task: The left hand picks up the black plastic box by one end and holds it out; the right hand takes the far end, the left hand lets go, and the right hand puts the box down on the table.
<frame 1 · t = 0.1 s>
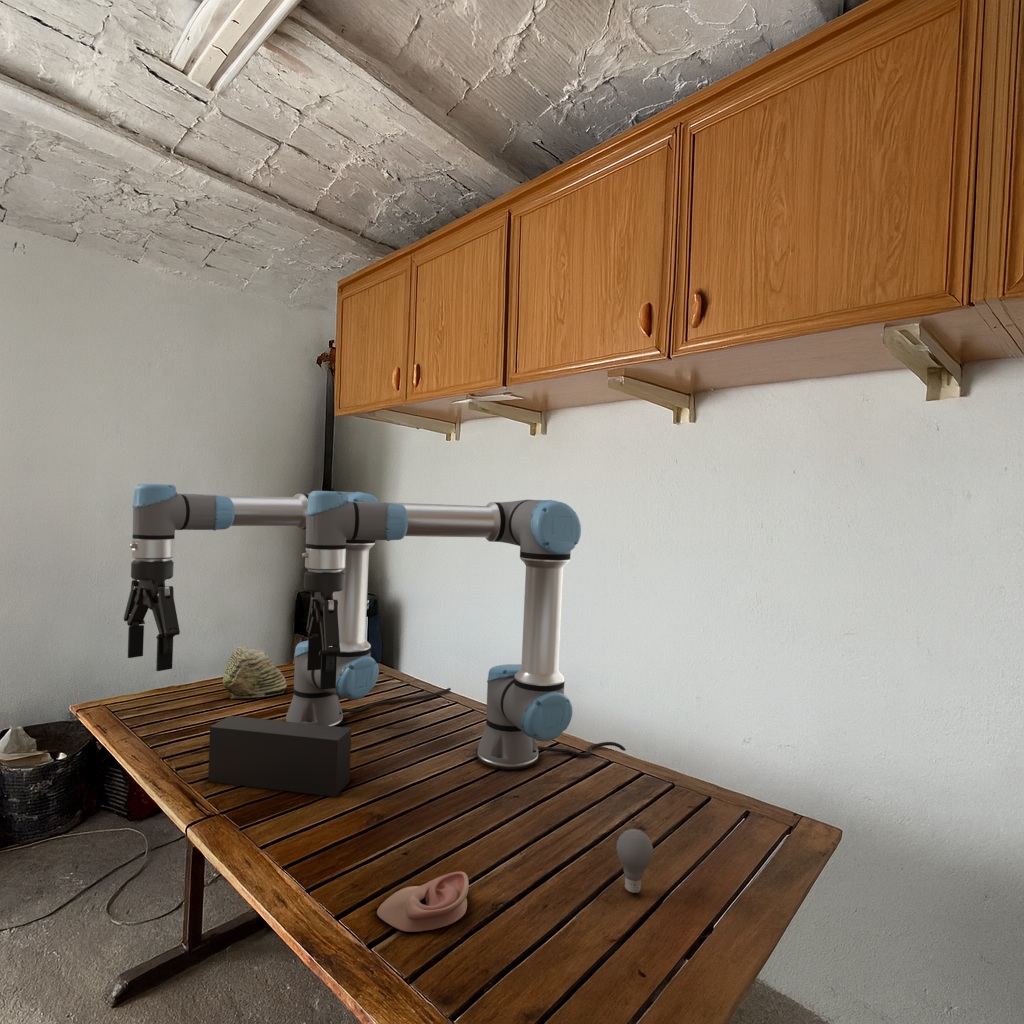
left hand: (149, 663, 129), 28 cm above the table, tool pointing down, fingers open, 13 cm apart
right hand: (320, 678, 123), 28 cm above the table, tool pointing down, fingers open, 13 cm apart
box: (279, 781, 140), on the table
anatomical model: (423, 910, 99), on the table
light bulb: (632, 891, 106), on the table
fossil: (254, 694, 198), on the table
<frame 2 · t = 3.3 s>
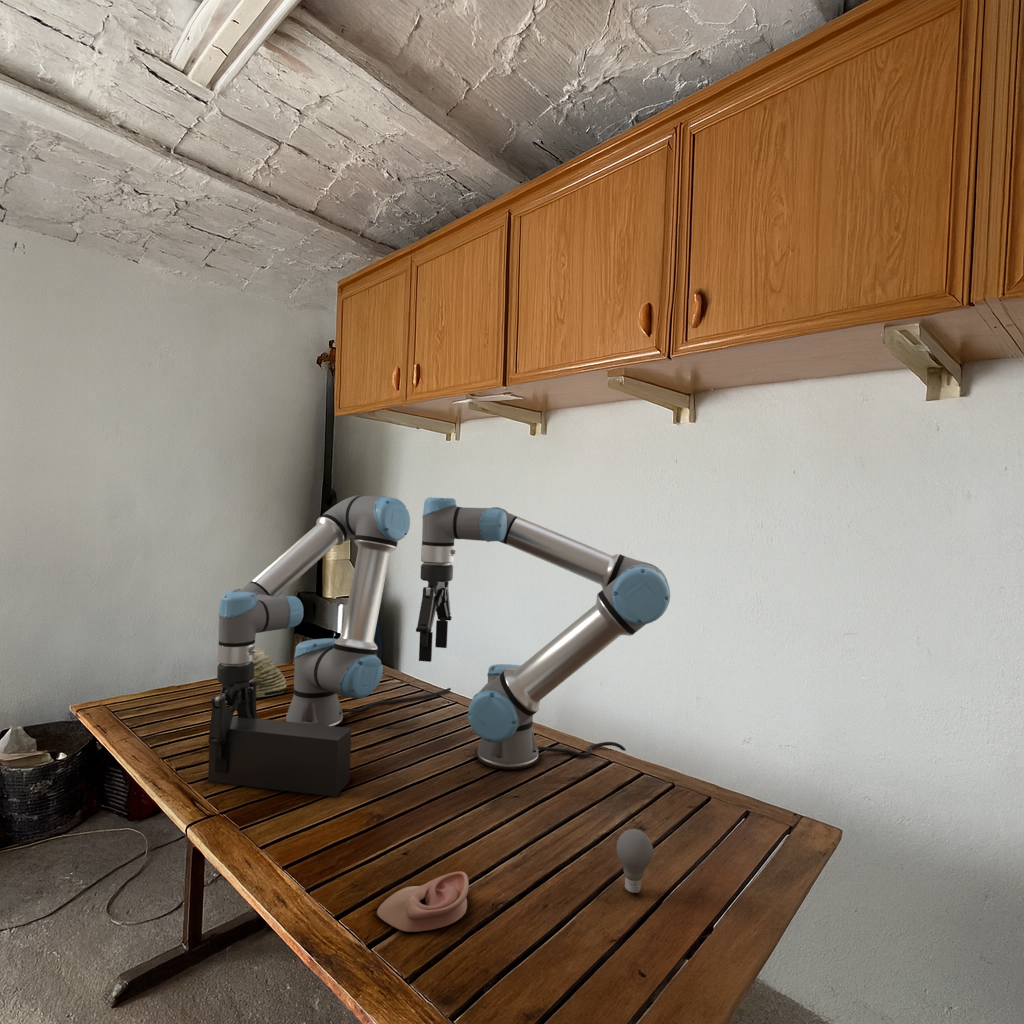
left hand: (232, 764, 141), 3 cm above the table, tool pointing down, fingers closed on box, 7 cm apart
right hand: (433, 654, 148), 28 cm above the table, tool pointing down, fingers open, 13 cm apart
box: (279, 781, 140), on the table, touching left hand
everything else where it was.
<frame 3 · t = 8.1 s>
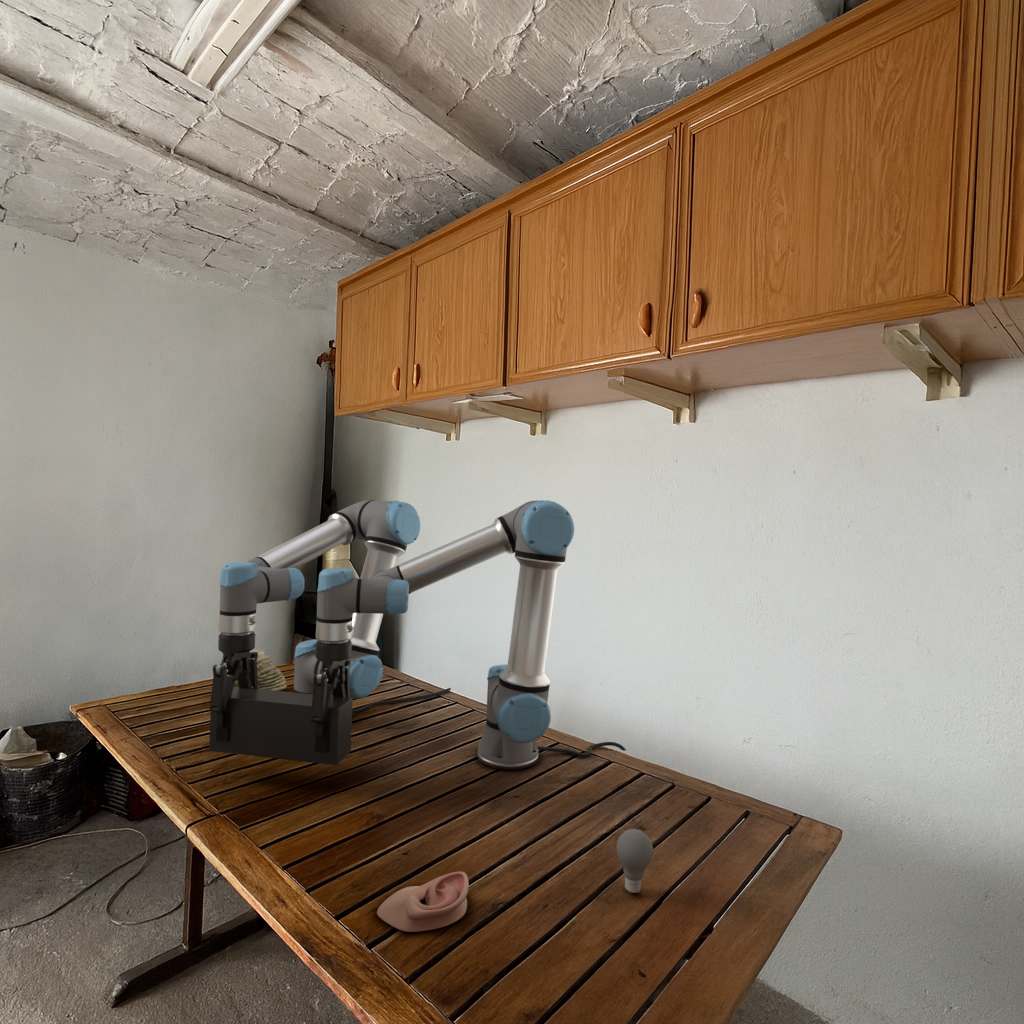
left hand: (233, 734, 141), 9 cm above the table, tool pointing down, fingers closed on box, 7 cm apart
right hand: (329, 744, 138), 10 cm above the table, tool pointing down, fingers closed on box, 7 cm apart
box: (280, 751, 140), point 7 cm above the table, touching left hand, right hand
everything else where it was.
when the left hand's fingers open (9 cm above the table, at t = 8.9 s): box stays where it is, held by the right hand.
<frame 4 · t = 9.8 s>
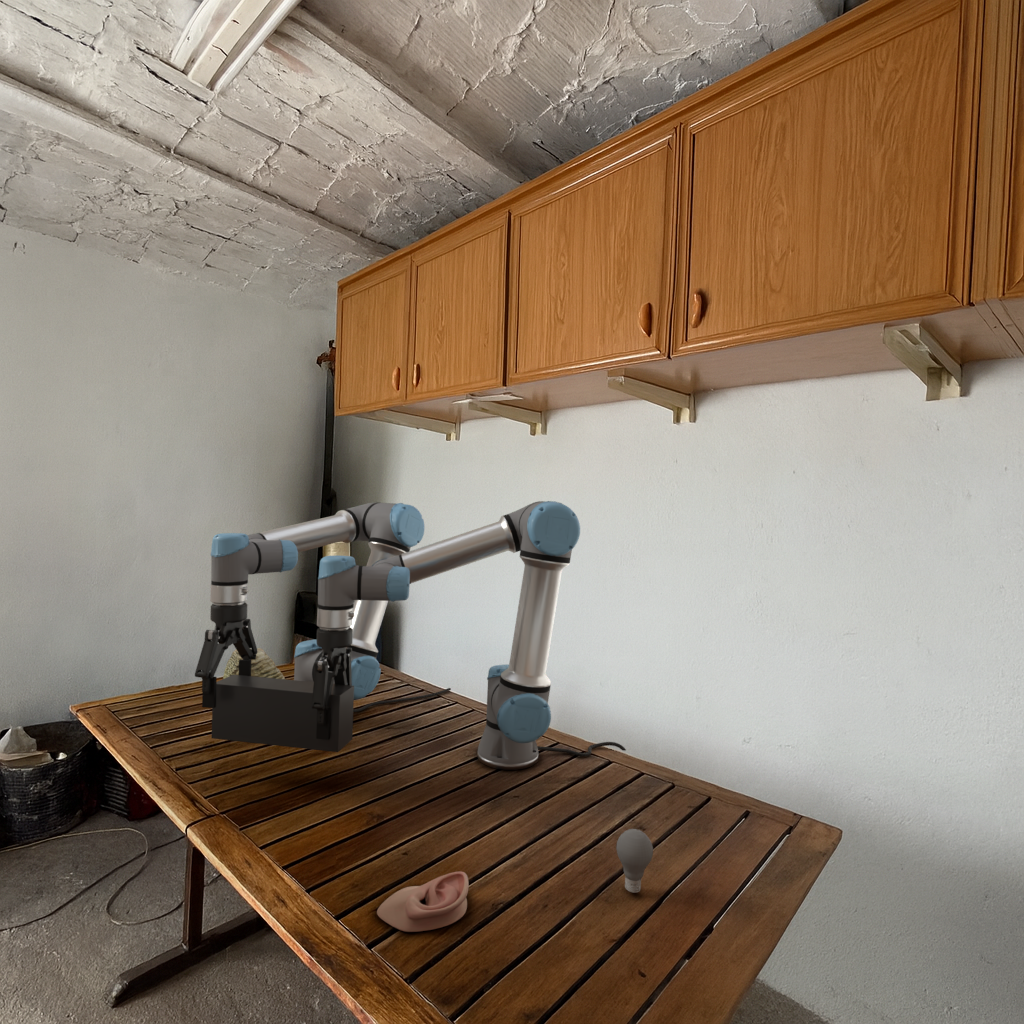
left hand: (227, 697, 142), 18 cm above the table, tool pointing down, fingers open, 13 cm apart
right hand: (331, 731, 138), 12 cm above the table, tool pointing down, fingers closed on box, 7 cm apart
box: (282, 739, 140), point 10 cm above the table, touching right hand
everything else where it was.
when the right hand's fingers open (4 cm above the table, at t = 12.0 s): box drops 2 cm, on the table.
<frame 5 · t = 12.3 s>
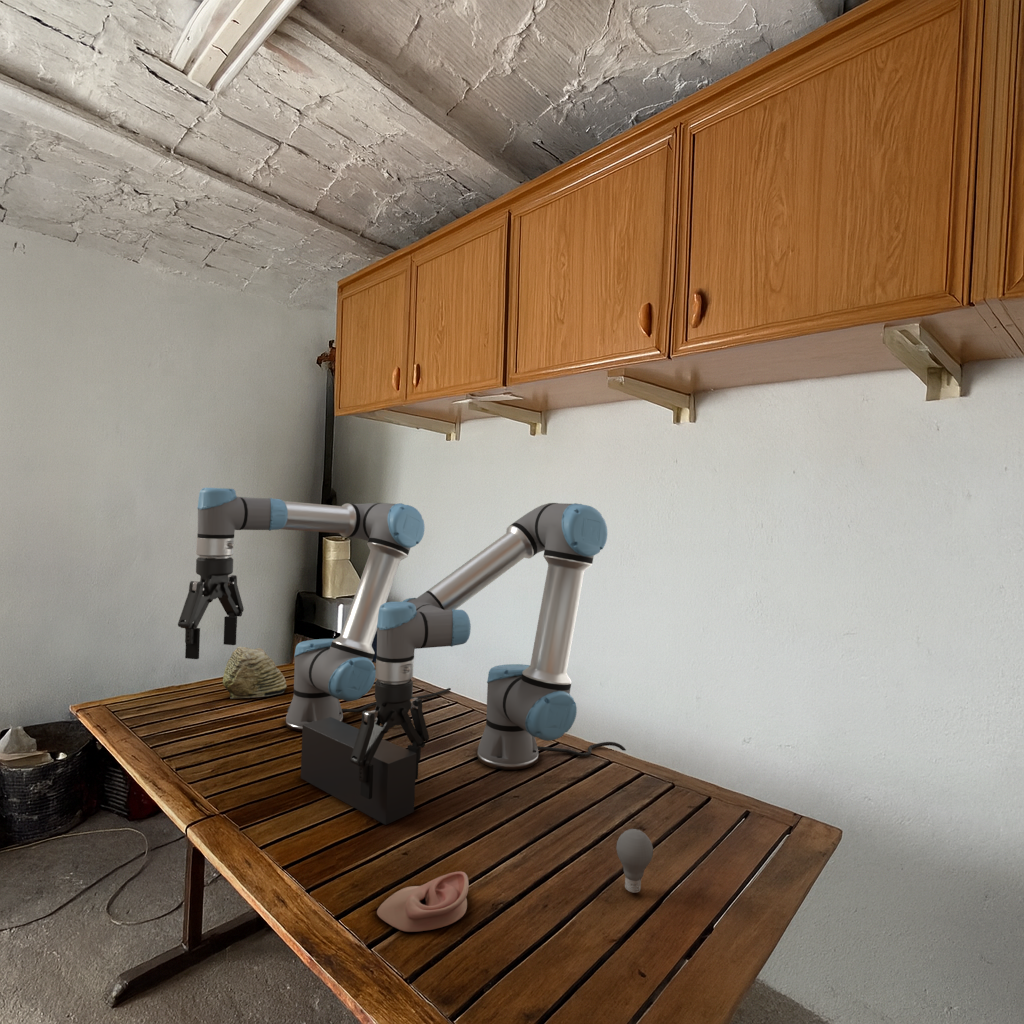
left hand: (211, 651, 142), 28 cm above the table, tool pointing down, fingers open, 13 cm apart
right hand: (389, 786, 128), 5 cm above the table, tool pointing down, fingers open, 11 cm apart
box: (354, 794, 136), on the table
everything else where it was.
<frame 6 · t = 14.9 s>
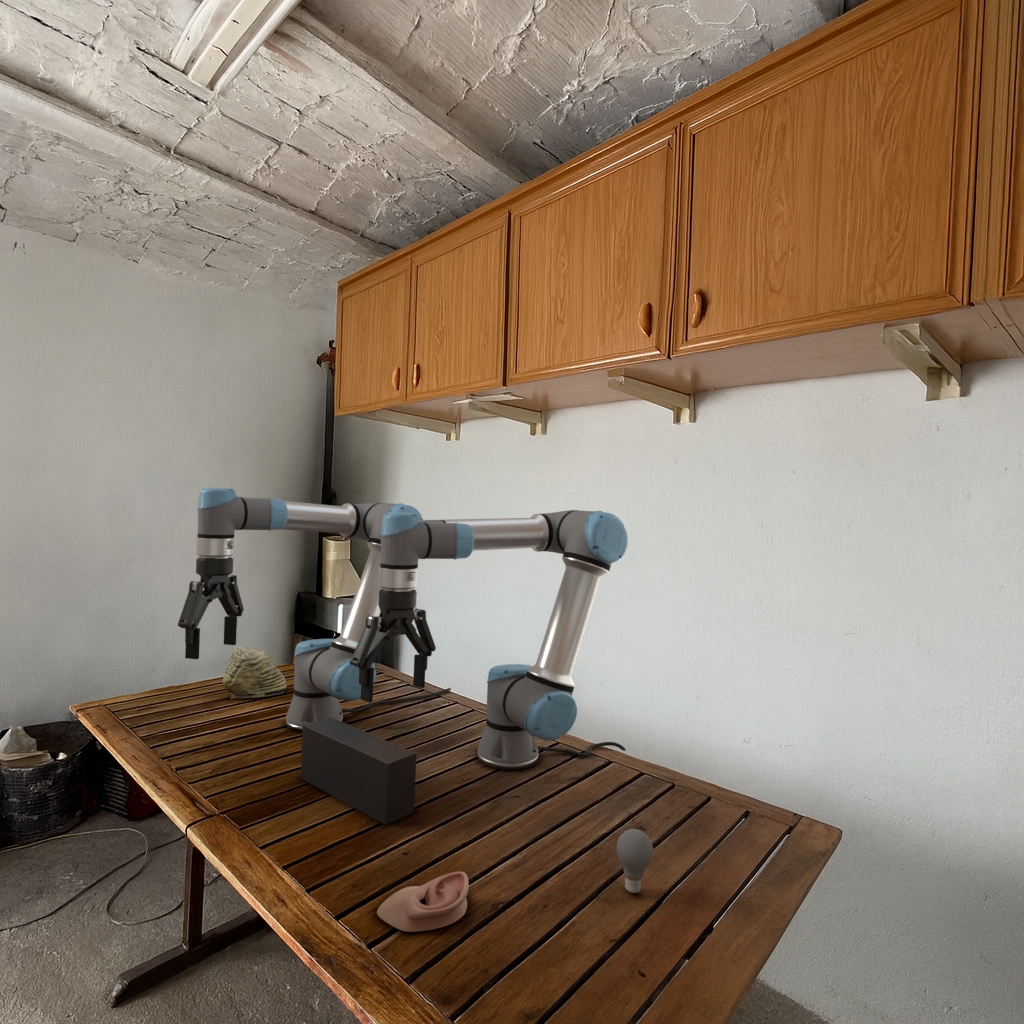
left hand: (211, 651, 142), 28 cm above the table, tool pointing down, fingers open, 13 cm apart
right hand: (393, 693, 128), 24 cm above the table, tool pointing down, fingers open, 13 cm apart
nothing on the table moved.
at the end: box inside the target area (11.4 cm from its centre), on the table; the left hand is holding nothing; the right hand is holding nothing; box at rest at the end (0.0 cm/s) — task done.
